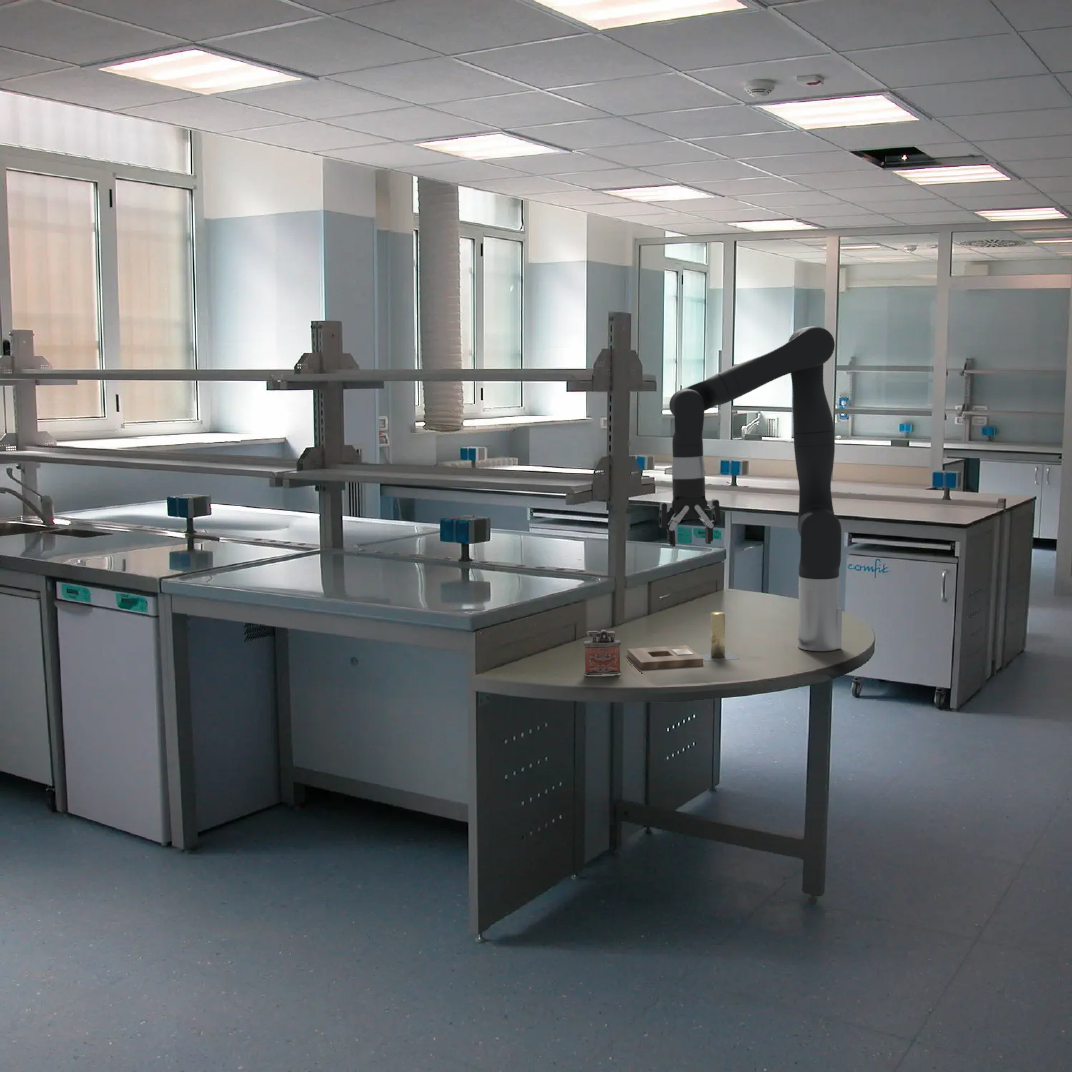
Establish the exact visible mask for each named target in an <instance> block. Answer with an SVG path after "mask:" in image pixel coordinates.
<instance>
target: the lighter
mask: <svg viewBox="0 0 1072 1072" xmlns="http://www.w3.org/2000/svg"><path fill="white" fill-rule="evenodd" d="M615 637H616V632H615V631H614V630H612V631H610V630H609V631H608V630H606V629H601V630H600V631H598V630H589V631H586V638H591V639H592V640H585V641H584V642H583V646H584V674H586V675H602V674H618V673H621V674H622V669H621V657H620V656H621V650H620V649H621V640H619V639H615ZM584 674H583V675H584Z"/></svg>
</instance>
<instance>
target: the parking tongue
mask: <svg viewBox="0 0 1072 1072" xmlns="http://www.w3.org/2000/svg"><path fill="white" fill-rule="evenodd" d="M698 655H699V656H701V657H702V658H703V662H713V661H726V660H727V661H728V660H729V661H730V660H740V657H739V658H738V657H737V655H735V654H734V653H732V652H725V658H712V657H711V653H705V654H704V653H703V654H701V653H700V654H698Z"/></svg>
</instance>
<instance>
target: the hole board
mask: <svg viewBox="0 0 1072 1072" xmlns="http://www.w3.org/2000/svg"><path fill="white" fill-rule="evenodd" d="M626 651H627V653H626V654H627V657H628V658H627V660H628V661H629V662H630V663H631V664H633V666H634V667H635V668H636V669H637V670H638V671H639V672H641V674H644V673H643V672H642V671H641V670H650V669H651V670H652V669H666V668H668V669H669V668H685V667H699V666H704V660H703V658H702V657H701V656H699V655H700V654H698V653H697V652H695V651H694V650H693V649H692V648H690V647H689V646H688V645H686V644H685V645H683V644H682V645H669V646H655V647H654V646H652V647H638V648H637V647H636V648H627V649H626ZM628 661H627V662H628ZM637 666H638V667H637Z"/></svg>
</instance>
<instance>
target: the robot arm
mask: <svg viewBox="0 0 1072 1072" xmlns="http://www.w3.org/2000/svg"><path fill="white" fill-rule="evenodd" d="M835 343H836V342H835V339H834V336H833V334H832V333H831V332H830V331H829V330H827V329H826V328H823V327H822V326H814V325H812V326H811V325H810V326H807V327H801V328H798V329H797V330H795V331H794V332H793V333H792V334H791V335H790V337H789V339H788V342H786V343H784V344H783V345H781V346H779V347H778V348H775V349H774V350H771V351H770V352H767V353H764V354H762V355H759V356H757V357H754V358H752V359H748V360H746V361H743V362H740V363H738V364H735V365H733V366H731V367H729V368H726V369H724V370H722V371H720V372H718V373H716V374H714V375H712V376H711V377H709V378H707V379H705V380H702V381H700V382H697V383H694V384H691V385H689V386H687V387H684V388H681V389H679V390H678V391H676V392H675V393H674V394H672V396H671V398H670V400H669V404H668V405H669V411H670V412H671V414H672V415H673V416H674V433H673V435H672V442H671V443H672V462H671V463H672V465H671V475H672V478H671V481H672V482H671V483H672V501H671V502H663V501H661V502H659V504H658V505H659V509H658V510H659V513H658V527H659V528H662V529H665V530H666V531H667V537H666V538H667V543H668V544H669V546H670V547H672V548H673V547H674V548H675V547H676V530H675V529H676V527H677V526H678V524H680V522H681V521H682V520H684V521H689V520H698V519H699V520H700V521H702V523H703V525H705V527H704V543H705V544H706V545H711V544H712V542H713V540H714V527H716V526H719V525H721V523H722V521H721V508H720V501H719V500H718V499H716V498H712V499H709V500H707V499H706V470H705V460H704V459H705V458H704V441H703V439H704V438H703V432H704V422H705V412H706V411H707V410H709V409H711V408H713V407H716V406H722V405H724V404H727V403H729V402H732V401H733V400H735V399H738V398H741V397H742V396H744V395H747V394H748V393H750V392H752V391H754V390H757V389H759V388H760V387H763V386H764V385H766V384H768V383H771V382H772V381H775V380H776V379H779V378H782V377H783V376H786V375H789V374H790V378H791V386H792V423H793V426H792V427H793V428H792V430H793V431H792V433H793V434H792V435H793V448H794V449H793V450H794V457H795V458H794V459H795V468H796V473H797V479H798V487H799V491H798V492H799V494H798V496H799V498H798V501H799V502H798V518H797V530H798V534H799V536H800V558H799V565H798V626H797V627H798V628H797V629H798V632H797V633H798V634H797V640H798V641H797V642H798V643H797V644H798V647H799V649H802V650H805V651H810V652H811V651H812V652H829V651H830V652H831V651H835V650H839V649H843V648H842V647H843V646H842V645H843V642H842V638H843V637H842V632H843V631H842V630H843V629H842V627H843V623H842V622H843V609H842V608H841V607H839V601H840V600H839V598H840V597H839V595H840V589H839V587H840V567H841V563H842V562H841V561H842V524H841V522H840V520H839V518H838V517H837V516H836V514H835V512H834V506H833V498H832V476H833V469H834V462H835V452H836V451H835V450H836V449H835V445H836V444H835V441H836V440H835V428H834V427H835V426H834V419H833V415H832V411H831V408H830V405H829V402H828V399H827V396H826V391H825V386H824V385H825V384H824V364H825V363H827V361H829V360H830V358H831V357H832V356H833V353H834V351H835V347H836V345H835ZM707 507H708V508H709V509H710V510H711V515H712V516H711V518H712V520H710V518H709V517H708V515H707V514H706V513H705V510H706V509H707ZM671 509H672V510H673V512H674V514H672V516H671V518H670V521H669V522H667V521H668V519H667V518H668V512H670V510H671Z"/></svg>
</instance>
